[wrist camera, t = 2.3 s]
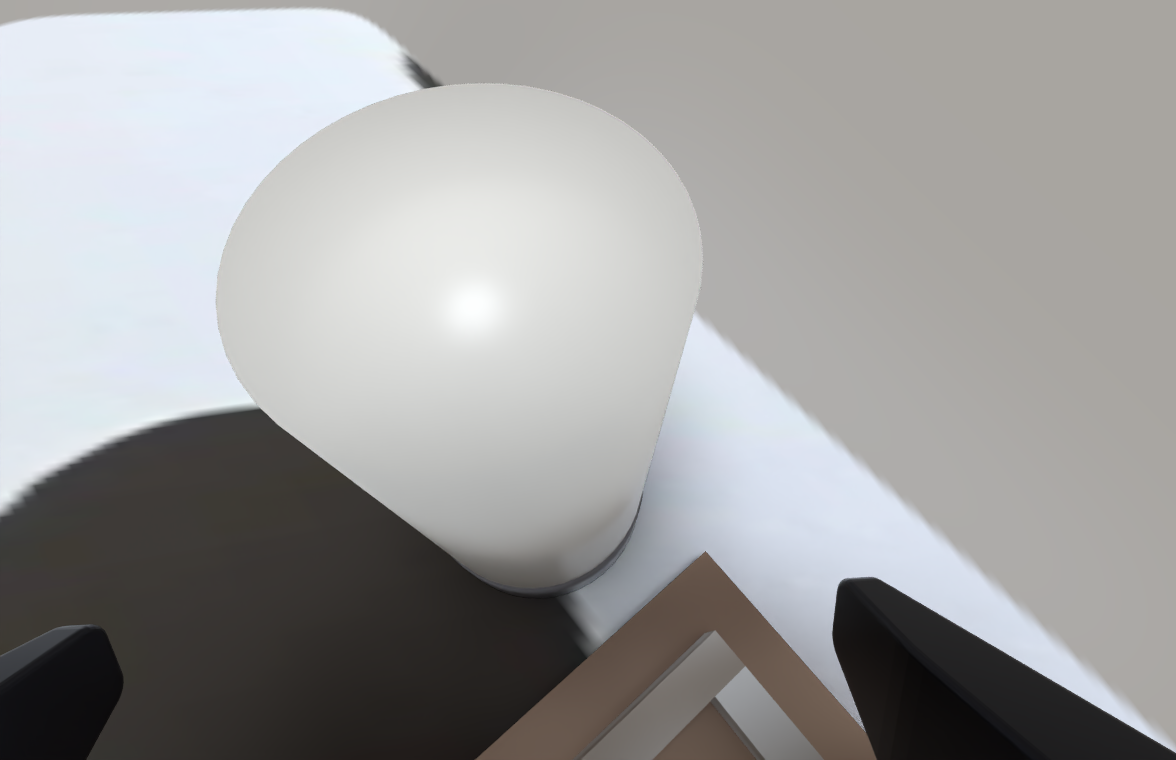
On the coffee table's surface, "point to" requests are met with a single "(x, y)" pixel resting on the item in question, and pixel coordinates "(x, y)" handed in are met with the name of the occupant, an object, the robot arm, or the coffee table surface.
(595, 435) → the white cylinder
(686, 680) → the walnut board
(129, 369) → the coffee table surface
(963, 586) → the coffee table surface
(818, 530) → the coffee table surface
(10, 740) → the robot arm
